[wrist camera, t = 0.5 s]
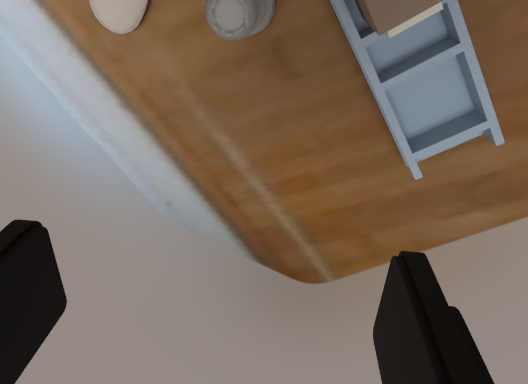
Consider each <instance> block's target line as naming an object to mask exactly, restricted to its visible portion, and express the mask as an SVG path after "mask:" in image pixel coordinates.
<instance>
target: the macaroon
mask: <svg viewBox="0 0 528 384" xmlns="http://www.w3.org/2000/svg"><path fill="white" fill-rule="evenodd" d="M89 2H90V6H91V8H92V11H93V13H94V15H95V16H96V18H97V19H98V20H99V22H100V23H101V24H102V25H103V26H105V27H106V28H107V29H108V30H110V31H112V32H114V33H119V34H125V33H128V32H131V31H133V30H135V29H136V28H137V27H138V26H139V24H140V22H141V20H142V18H143V16H144V13H145V11H146V8H147V4H148V0H89Z"/></svg>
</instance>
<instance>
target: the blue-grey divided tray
mask: <svg viewBox="0 0 528 384" xmlns="http://www.w3.org/2000/svg"><path fill="white" fill-rule="evenodd" d="M330 2H331V4H332V7H333V9H334V11H335V13H336V15H337V17H338V20H339V22H340V24H341V26H342V28H343V30H344V32H345V35H346V37H347V39H348V41H349V43H350V45H351V48H352V50H353V52H354V54H355V56H356V58H357V61H358V63H359V65H360V67H361V69H362V71H363V73H364V76H365V78H366V80H367V82H368V84H369V86H370V89H371V91H372V93H373V95H374V97H375V99H376V102H377V104H378V106H379V108H380V110H381V112H382V115H383V117H384V119H385V121H386V123H387V125H388V127H389V130H390V132H391V134H392V136H393V138H394V140H395V143H396V145H397V147H398V149H399V151H400V153H401V156H402V158H403V160H404V162H405V164H406V166H407V167H408V166H409V168H410V170H411V172H412V174H413V176H414V178H415V180H417V179H419V178H421V177H423V176H422V174H421V172H420V169H419V167H418V165H417V162H419V161H422V160H424V159H426V158H429V157H431V156H433V155H435V154H438V153H440V152H442V151H445V150H447V149H449V148H452V147H454V146H456V145H459V144H461V143H463V142H466V141H468V140H470V139H473V138H475V137H477V136H480V135H482V134H484V135H485V136H486V137H487V138H488V139H489V140H490V141H491V142H492V143H493V144H495V145H496V146H498V145H501V144H503V143H505V141H504V138H503V135H502V132H501V129H500V126H499V123H498V120H497V117H496V114H495V111H494V108H493V105H492V102H491V99H490V96H489V93H488V90H487V87H486V84H485V81H484V78H483V75H482V72H481V69H480V66H479V63H478V60H477V57H476V54H475V51H474V48H473V45H472V42H471V39H470V36H469V33H468V30H467V27H466V24H465V21H464V18H463V15H462V12H461V9H460V6H459V3H458V0H330Z"/></svg>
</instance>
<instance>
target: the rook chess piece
mask: <svg viewBox="0 0 528 384" xmlns="http://www.w3.org/2000/svg"><path fill="white" fill-rule="evenodd" d="M205 12H206V20H207V22H208V25H209V27H210V29H211V30H212V31H213V32H214V33H215V34H216V35H217V36H218V37H220V38H222V39H224V40H226V41H239V40H241V39H244V38H246V37H247V36H252V35H254V34H257V33H259V32H261V31H263V30H264V29H265V28H266V27H267V26H268V25H269V24H270V22H271V20H272V18H273V15H274V13H275V0H207V3H206V6H205Z"/></svg>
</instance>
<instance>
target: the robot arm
mask: <svg viewBox="0 0 528 384" xmlns="http://www.w3.org/2000/svg"><path fill="white" fill-rule="evenodd" d="M66 302H67V300H66V296H65V292H64V288H63V284H62V281H61V277H60V273H59V270H58V266H57V262H56V259H55V255H54V252H53V248H52V244H51V241H50V237H49V233H48V231H47V229H46V228H45V227H43V226H42V224H41V223H40V222H38V221H29V220H14V221H12V222H11V223H10V224H8V225H7V226H6V227H5V228H4V229H3V230H2V231H1V232H0V384H15V382H16V381H17V379H18V378H19V376H20V375H21V373H22V372H23V371H24V369H25V368H26V366H27V365H28V363H29V362H30V360H31V359H32V358H33V356H34V355H35V353H36V352H37V350H38V349H39V347H40V346H41V344H42V343H43V342H44V340H45V338H46V337H47V336H48V334H49V333H50V331H51V330H52V328H53V327H54V326H55V324H56V323H57V321H58V320H59V318H60V317H61V315H62V314H63V312H64V310H65V308H66ZM373 339H374V345H375V350H376V355H377V360H378V365H379V370H380V374H381V380H382V384H494V382H493V380H492V378H491V376H490V374H489V372H488V370H487V367H486V365H485V363H484V361H483V359H482V357H481V355H480V353H479V351H478V348H477V346H476V344H475V342H474V340H473V338H472V336H471V334H470V332H469V330H468V328H467V325H466V323H465V321H464V319H463V317H462V315H461V314H460V311H459V310H458V309H457V308H456V307H453V306H448V303H447V301H446V299H445V297H444V294H443V292H442V290H441V288H440V285H439V283H438V281H437V279H436V277H435V274H434V272H433V270H432V268H431V265H430V263H429V261H428V259H427V257H426V255H425V254H424V253H419V252H407V251H401V252H400V254H399V256H393V257H392V259H391V262H390V266H389V270H388V274H387V278H386V282H385V285H384V289H383V293H382V297H381V301H380V305H379V308H378V312H377V316H376V320H375V324H374V328H373Z"/></svg>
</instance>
